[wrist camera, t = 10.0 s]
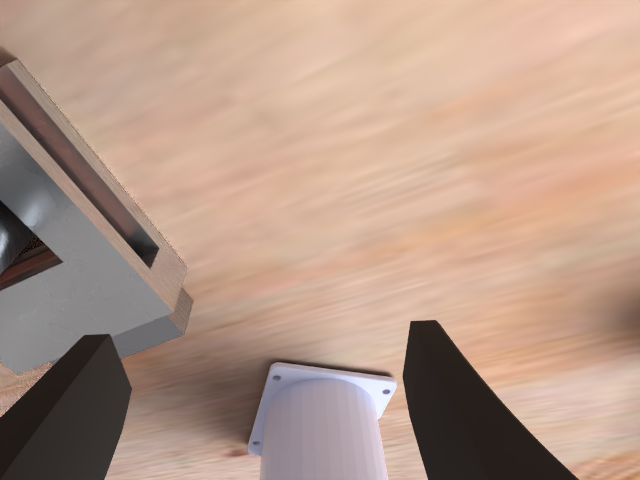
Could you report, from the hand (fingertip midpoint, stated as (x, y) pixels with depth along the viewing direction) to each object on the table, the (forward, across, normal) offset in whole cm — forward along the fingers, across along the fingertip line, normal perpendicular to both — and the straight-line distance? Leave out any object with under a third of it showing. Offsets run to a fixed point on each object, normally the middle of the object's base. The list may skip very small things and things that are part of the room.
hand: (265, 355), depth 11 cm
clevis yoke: (+10, +11, +3) cm, 15 cm away
